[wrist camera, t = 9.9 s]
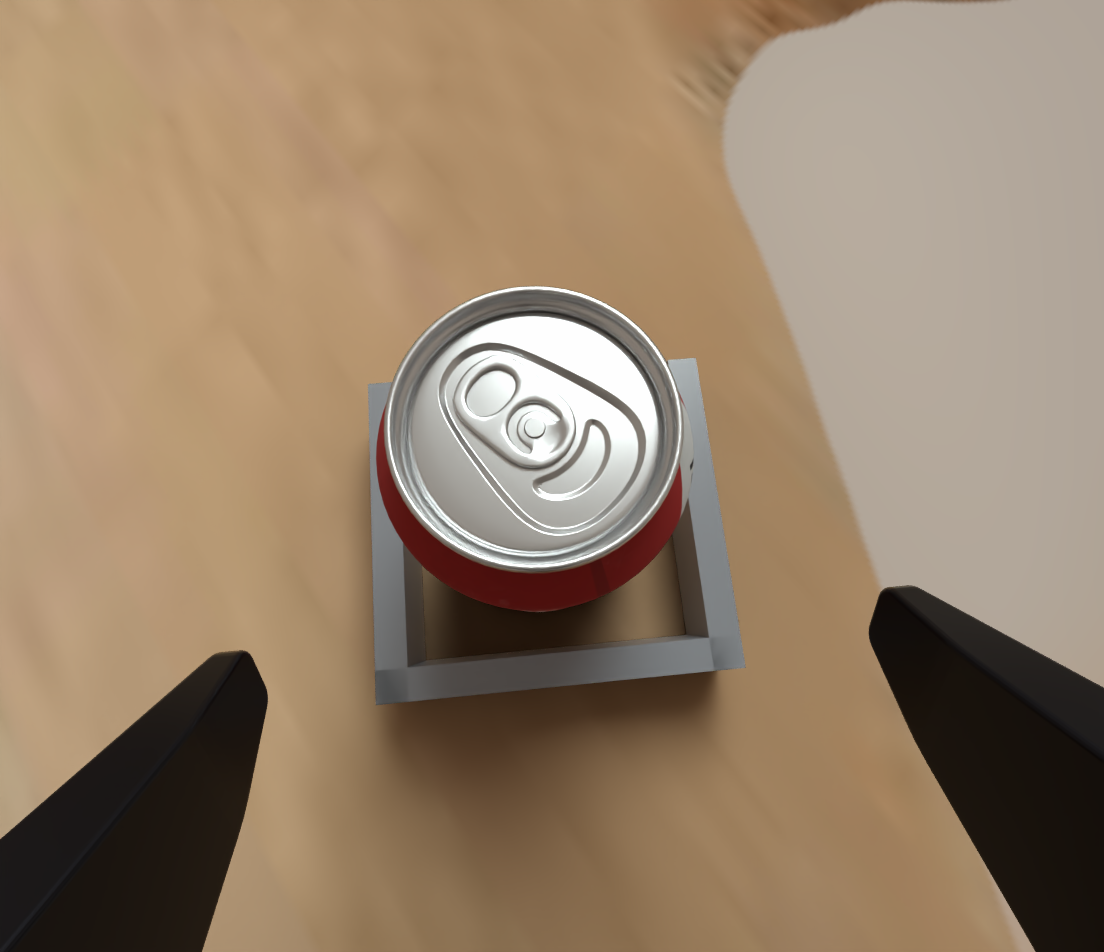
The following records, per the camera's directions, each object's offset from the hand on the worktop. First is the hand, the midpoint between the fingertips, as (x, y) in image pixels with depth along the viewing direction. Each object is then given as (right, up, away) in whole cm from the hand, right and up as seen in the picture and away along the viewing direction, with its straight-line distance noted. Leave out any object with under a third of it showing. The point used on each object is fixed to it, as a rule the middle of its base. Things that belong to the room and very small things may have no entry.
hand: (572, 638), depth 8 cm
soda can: (-1, +1, +14) cm, 14 cm away
